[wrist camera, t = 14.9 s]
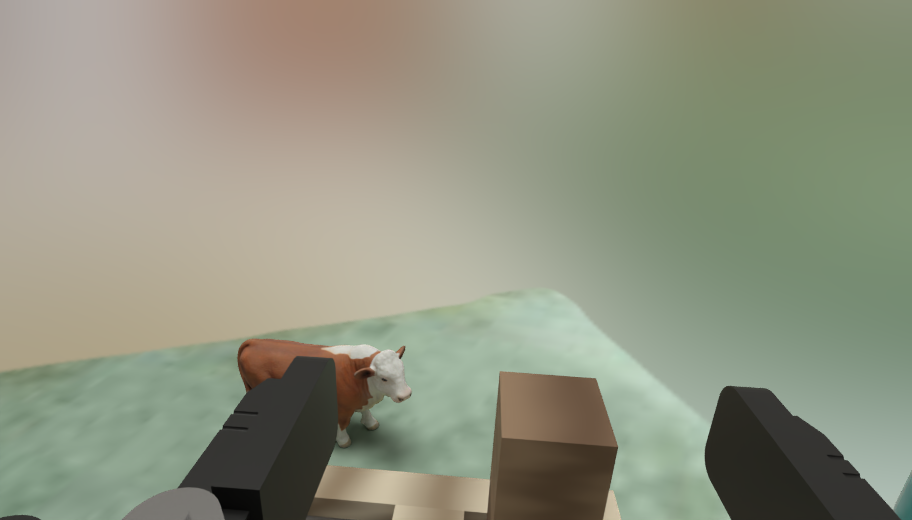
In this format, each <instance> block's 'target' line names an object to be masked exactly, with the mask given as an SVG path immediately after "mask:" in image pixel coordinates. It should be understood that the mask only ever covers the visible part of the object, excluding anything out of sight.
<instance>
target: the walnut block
mask: <svg viewBox="0 0 912 520" xmlns="http://www.w3.org/2000/svg"><path fill="white" fill-rule="evenodd" d="M617 450H618V445H617V442H616V439H615V436H614V433H613V430H612V427H611V424H610V420H609V417H608V414H607V411H606V408H605V405H604V402H603V399H602V396H601V393H600V390H599V386H598V383H597V380H596V379H595V378H582V377H569V376H555V375H542V374H528V373H515V372H502V371H500V376H499V387H498V398H497V409H496V420H495V431H494V442H493V453H492V464H491V475H490V486H489V497H488V508H487V519H486V520H603V517H604V512H605V508H606V503H607V498H608V493H609V488H610V483H611V479H612V474H613V469H614V464H615V459H616V455H617Z"/></svg>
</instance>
